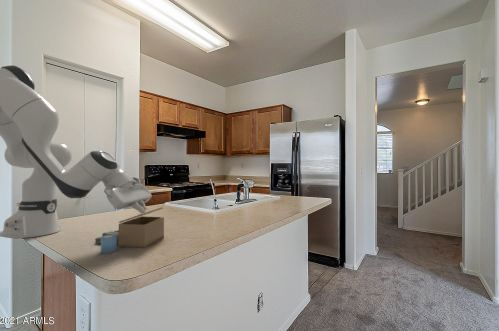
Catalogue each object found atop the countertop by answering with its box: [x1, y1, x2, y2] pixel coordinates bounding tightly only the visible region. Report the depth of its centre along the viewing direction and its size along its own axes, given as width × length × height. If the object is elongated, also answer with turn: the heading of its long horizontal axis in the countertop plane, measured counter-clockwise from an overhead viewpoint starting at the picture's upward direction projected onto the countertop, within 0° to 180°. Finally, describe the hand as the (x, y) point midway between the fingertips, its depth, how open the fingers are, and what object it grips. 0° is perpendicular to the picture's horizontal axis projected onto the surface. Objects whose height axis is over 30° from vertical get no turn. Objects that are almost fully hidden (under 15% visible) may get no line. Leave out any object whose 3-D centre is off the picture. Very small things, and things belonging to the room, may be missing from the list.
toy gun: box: [94, 229, 119, 244], centre depth 103 cm, size 25×3×15 cm
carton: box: [118, 215, 165, 249], centre depth 96 cm, size 10×14×8 cm
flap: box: [118, 207, 164, 224], centre depth 96 cm, size 10×14×1 cm, turn 172°
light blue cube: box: [100, 235, 118, 255], centre depth 84 cm, size 5×5×5 cm
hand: (144, 211), depth 96 cm, fingers closed, pressing on flap
